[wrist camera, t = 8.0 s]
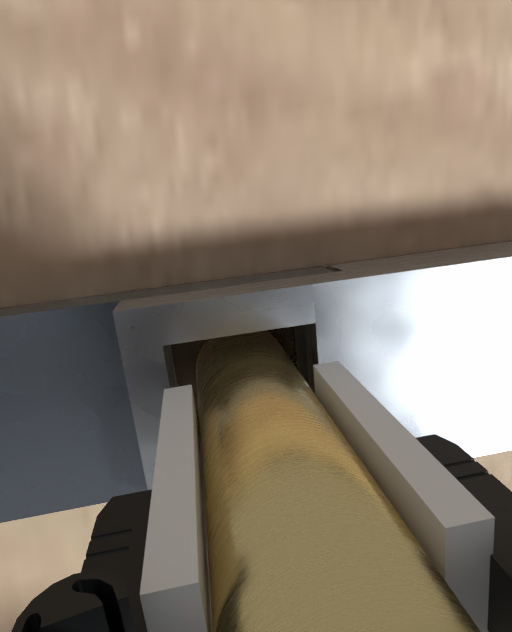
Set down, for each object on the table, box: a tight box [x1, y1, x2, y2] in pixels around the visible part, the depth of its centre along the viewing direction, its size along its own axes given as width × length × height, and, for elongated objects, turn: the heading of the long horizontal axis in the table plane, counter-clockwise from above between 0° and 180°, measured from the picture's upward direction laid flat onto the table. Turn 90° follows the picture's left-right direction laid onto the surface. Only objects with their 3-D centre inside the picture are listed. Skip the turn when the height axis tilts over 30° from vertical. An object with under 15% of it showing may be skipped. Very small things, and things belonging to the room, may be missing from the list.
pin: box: [196, 330, 481, 632], centre depth 11 cm, size 3×3×12 cm
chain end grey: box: [113, 241, 512, 490], centre depth 15 cm, size 18×7×3 cm, turn 96°
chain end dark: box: [0, 266, 334, 523], centre depth 15 cm, size 20×7×2 cm, turn 96°
